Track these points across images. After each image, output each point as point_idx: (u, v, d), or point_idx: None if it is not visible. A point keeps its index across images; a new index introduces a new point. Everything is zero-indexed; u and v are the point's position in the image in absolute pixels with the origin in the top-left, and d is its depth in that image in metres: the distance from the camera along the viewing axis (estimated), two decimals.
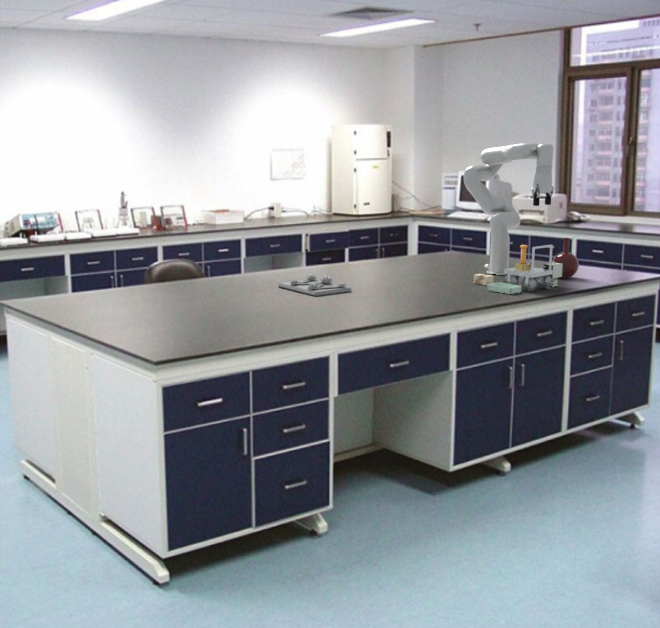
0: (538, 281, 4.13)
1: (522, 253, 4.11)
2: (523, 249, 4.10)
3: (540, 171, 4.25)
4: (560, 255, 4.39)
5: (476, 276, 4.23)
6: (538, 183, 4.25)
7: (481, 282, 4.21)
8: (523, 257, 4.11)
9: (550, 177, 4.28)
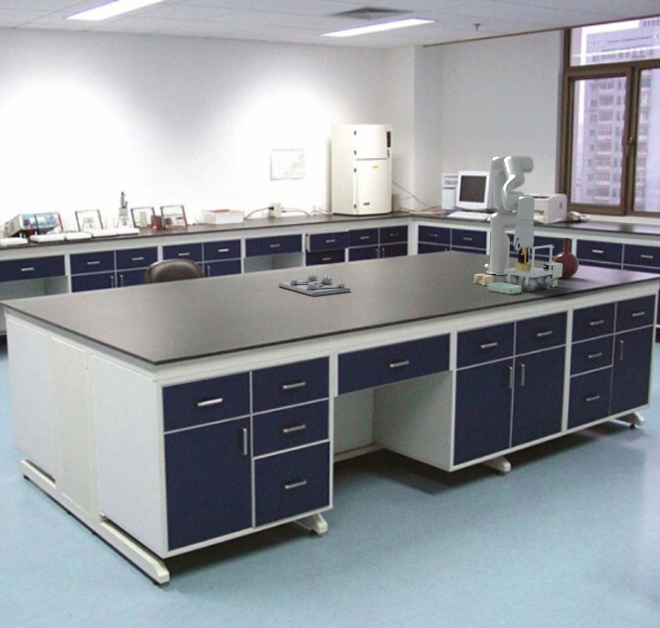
0: (538, 281, 4.13)
1: None
2: None
3: (521, 225, 4.06)
4: (560, 255, 4.39)
5: (476, 276, 4.24)
6: (519, 239, 4.06)
7: (480, 282, 4.22)
8: None
9: (532, 231, 4.09)
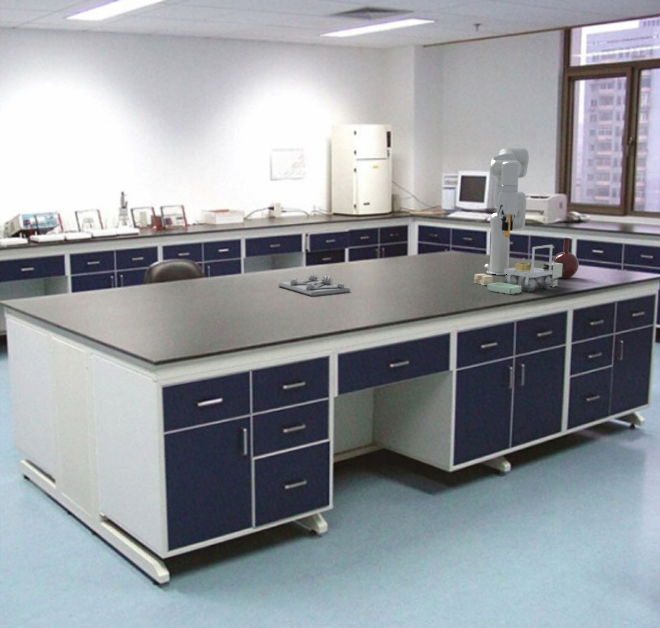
0: (538, 281, 4.13)
1: None
2: None
3: (505, 191, 3.92)
4: (560, 255, 4.39)
5: (476, 276, 4.24)
6: (502, 206, 3.92)
7: (480, 282, 4.22)
8: None
9: (516, 197, 3.95)
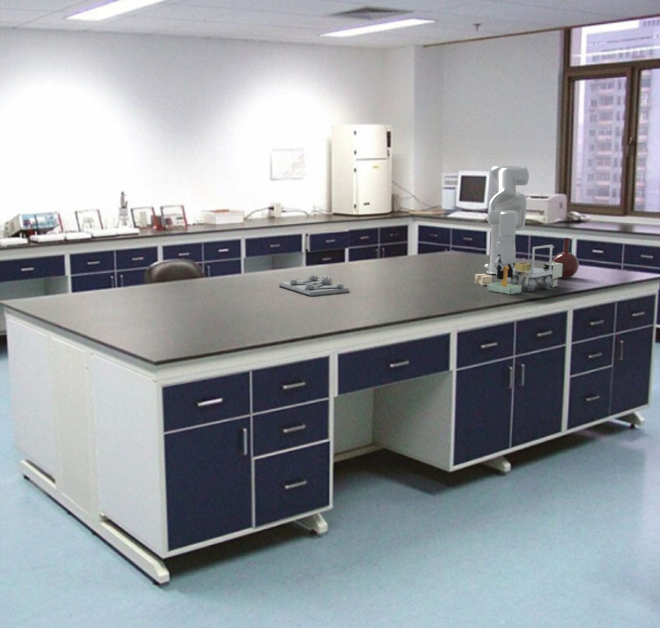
0: (538, 281, 4.13)
1: None
2: (504, 270, 4.01)
3: (502, 241, 3.97)
4: (560, 255, 4.39)
5: (476, 276, 4.25)
6: (500, 255, 3.97)
7: (479, 282, 4.22)
8: (504, 278, 4.02)
9: (513, 247, 4.00)
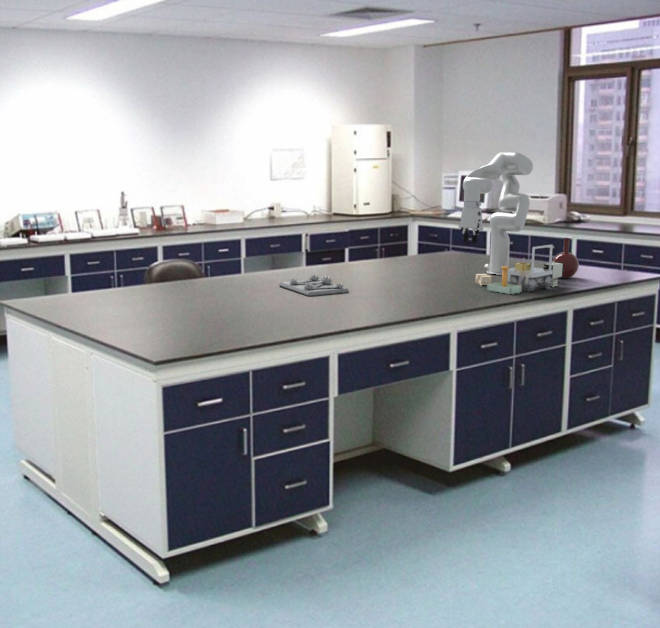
0: (538, 281, 4.13)
1: (503, 274, 4.02)
2: (504, 270, 4.01)
3: None
4: (560, 255, 4.39)
5: (477, 275, 4.25)
6: None
7: (479, 282, 4.22)
8: (504, 278, 4.02)
9: (472, 212, 4.20)
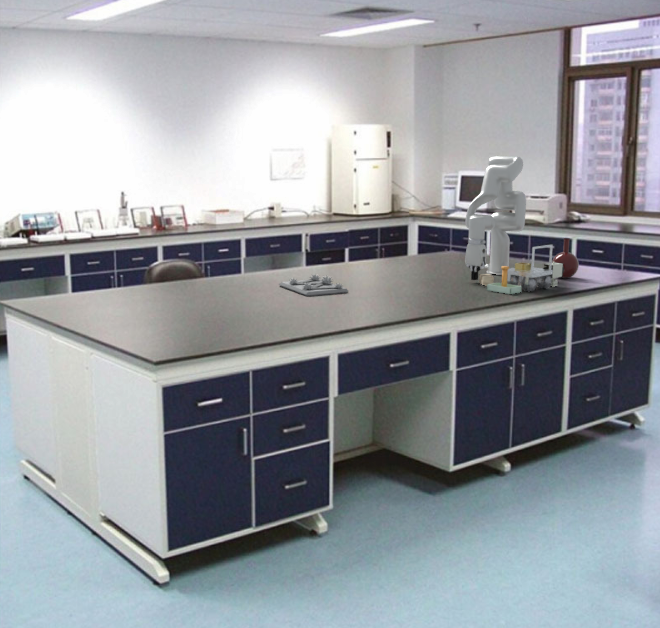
0: (538, 281, 4.13)
1: (503, 274, 4.02)
2: (504, 270, 4.01)
3: None
4: (560, 255, 4.39)
5: (480, 276, 4.24)
6: None
7: (481, 282, 4.21)
8: (504, 278, 4.02)
9: (476, 250, 4.21)
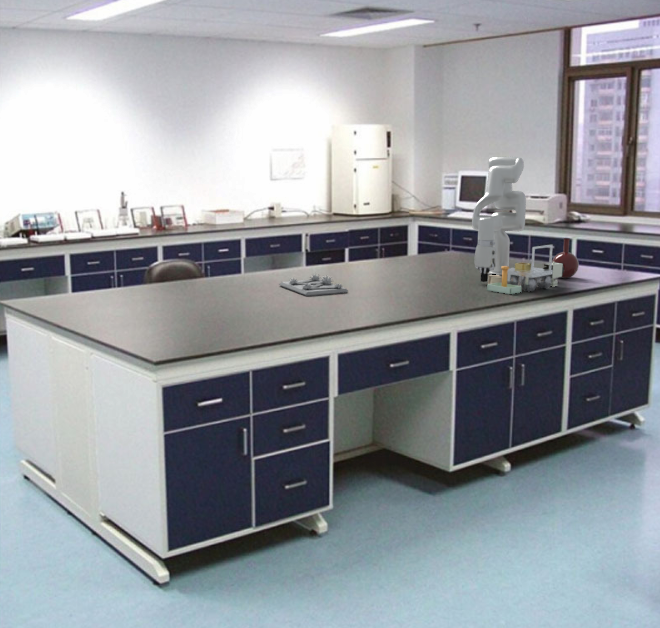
0: (538, 281, 4.13)
1: (503, 274, 4.02)
2: (504, 270, 4.01)
3: None
4: (560, 255, 4.39)
5: (489, 277, 4.22)
6: None
7: (490, 283, 4.19)
8: (504, 278, 4.02)
9: (486, 251, 4.17)
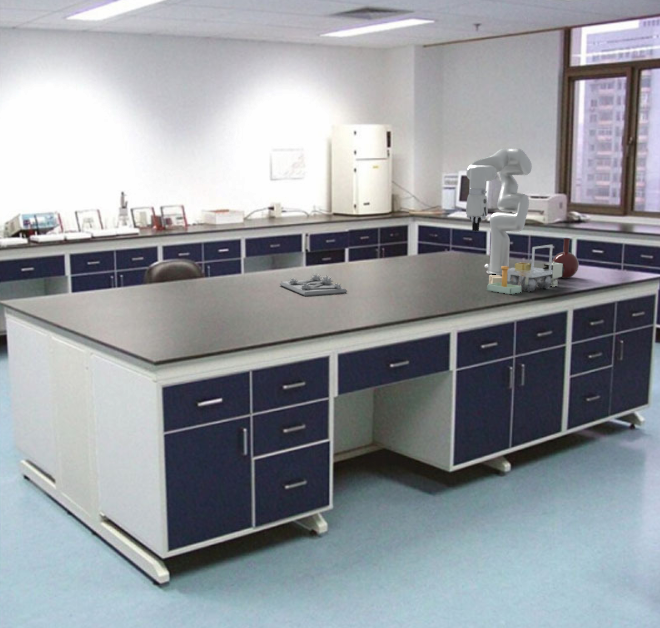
0: (538, 281, 4.13)
1: (503, 274, 4.02)
2: (504, 270, 4.01)
3: None
4: (560, 255, 4.39)
5: (490, 277, 4.22)
6: None
7: (491, 283, 4.19)
8: (504, 278, 4.02)
9: (477, 200, 4.17)
